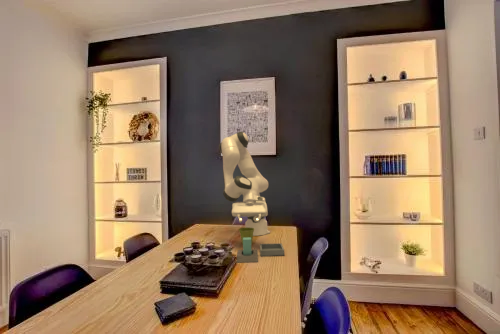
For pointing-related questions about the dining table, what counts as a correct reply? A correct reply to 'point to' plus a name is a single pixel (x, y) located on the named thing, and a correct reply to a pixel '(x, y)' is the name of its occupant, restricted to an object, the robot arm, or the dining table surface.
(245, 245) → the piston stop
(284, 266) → the dining table surface
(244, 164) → the robot arm
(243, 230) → the plant pot
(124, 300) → the dining table surface
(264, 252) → the parts tray
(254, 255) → the grey flat square block
